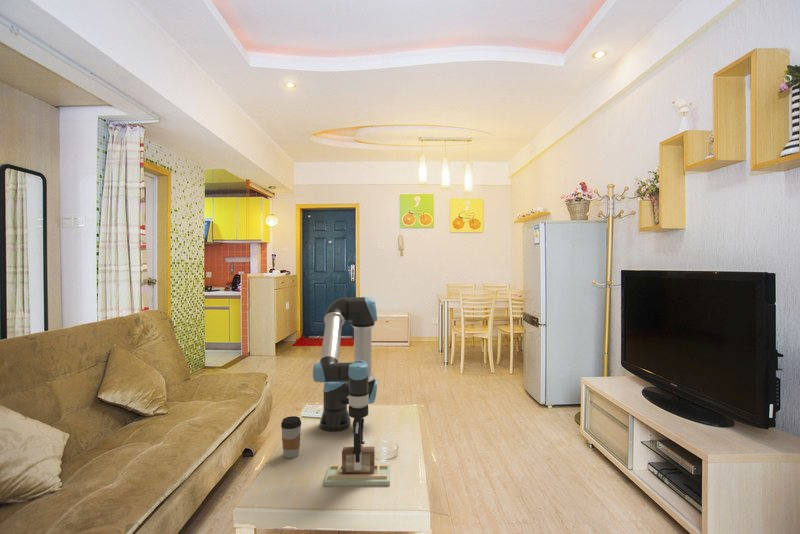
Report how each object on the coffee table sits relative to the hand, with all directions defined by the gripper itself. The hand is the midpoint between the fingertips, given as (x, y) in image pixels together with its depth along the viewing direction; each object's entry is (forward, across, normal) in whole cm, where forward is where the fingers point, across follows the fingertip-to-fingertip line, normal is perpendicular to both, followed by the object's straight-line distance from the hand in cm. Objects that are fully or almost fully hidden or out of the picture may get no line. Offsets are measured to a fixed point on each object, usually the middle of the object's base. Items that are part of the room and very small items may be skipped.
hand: (358, 465), depth 148 cm
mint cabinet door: (+4, 0, 0) cm, 4 cm away
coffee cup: (+4, -17, -30) cm, 35 cm away
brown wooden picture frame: (+3, 0, 0) cm, 3 cm away
